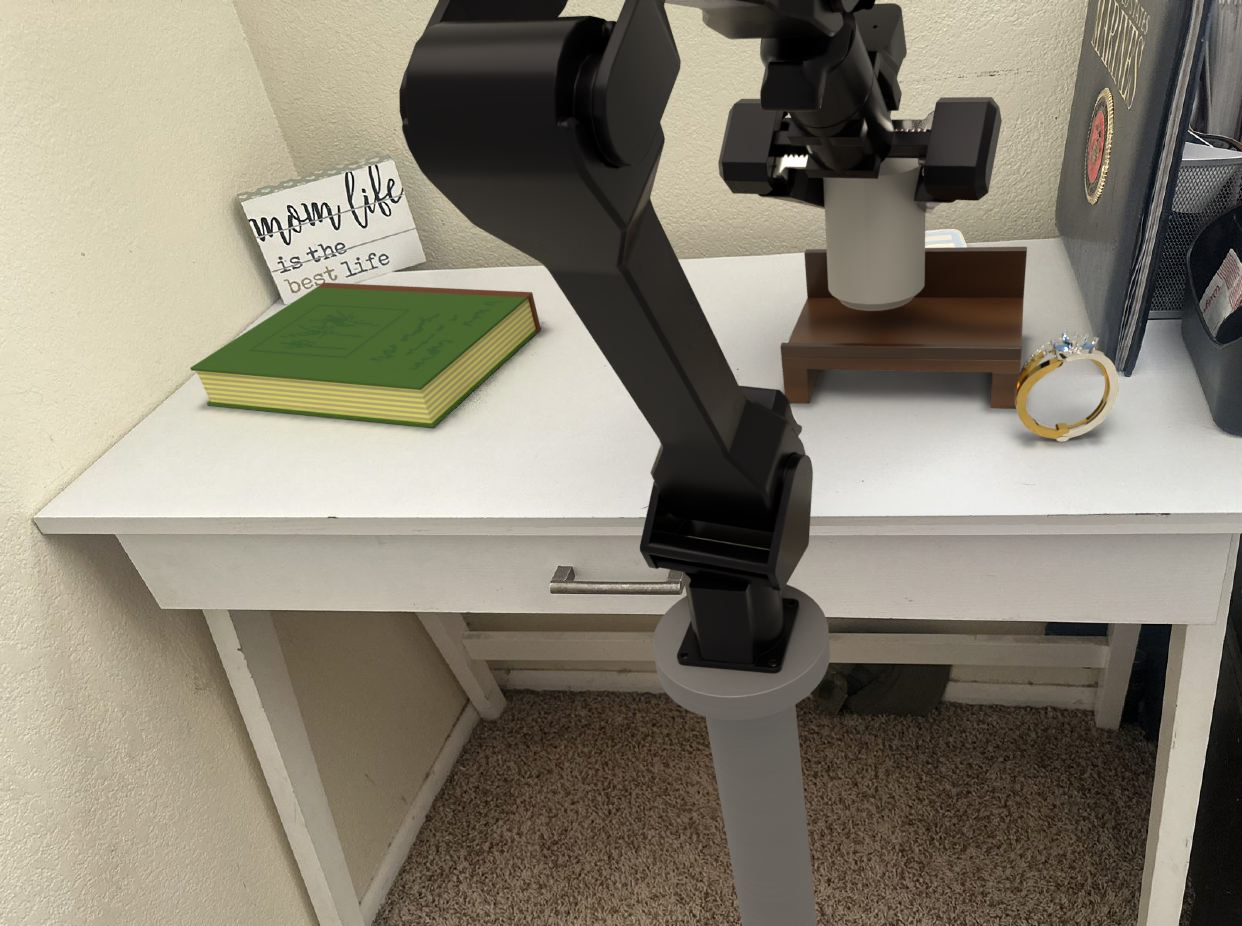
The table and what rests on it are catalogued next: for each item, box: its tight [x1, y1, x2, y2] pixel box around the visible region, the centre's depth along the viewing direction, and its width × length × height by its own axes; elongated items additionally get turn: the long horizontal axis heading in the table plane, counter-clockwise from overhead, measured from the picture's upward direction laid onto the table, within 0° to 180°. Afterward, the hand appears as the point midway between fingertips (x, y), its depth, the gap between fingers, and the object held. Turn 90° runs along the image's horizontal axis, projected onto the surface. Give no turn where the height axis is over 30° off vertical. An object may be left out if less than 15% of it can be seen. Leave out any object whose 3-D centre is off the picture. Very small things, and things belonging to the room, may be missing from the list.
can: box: [823, 158, 926, 311], centre depth 77 cm, size 8×8×12 cm
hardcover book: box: [189, 282, 542, 429], centre depth 94 cm, size 25×19×4 cm
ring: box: [1014, 329, 1120, 443], centre depth 71 cm, size 7×3×8 cm, turn 86°
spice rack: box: [779, 246, 1028, 409], centre depth 81 cm, size 12×18×8 cm, turn 76°
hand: (880, 205), depth 77 cm, fingers closed on can, 7 cm apart
